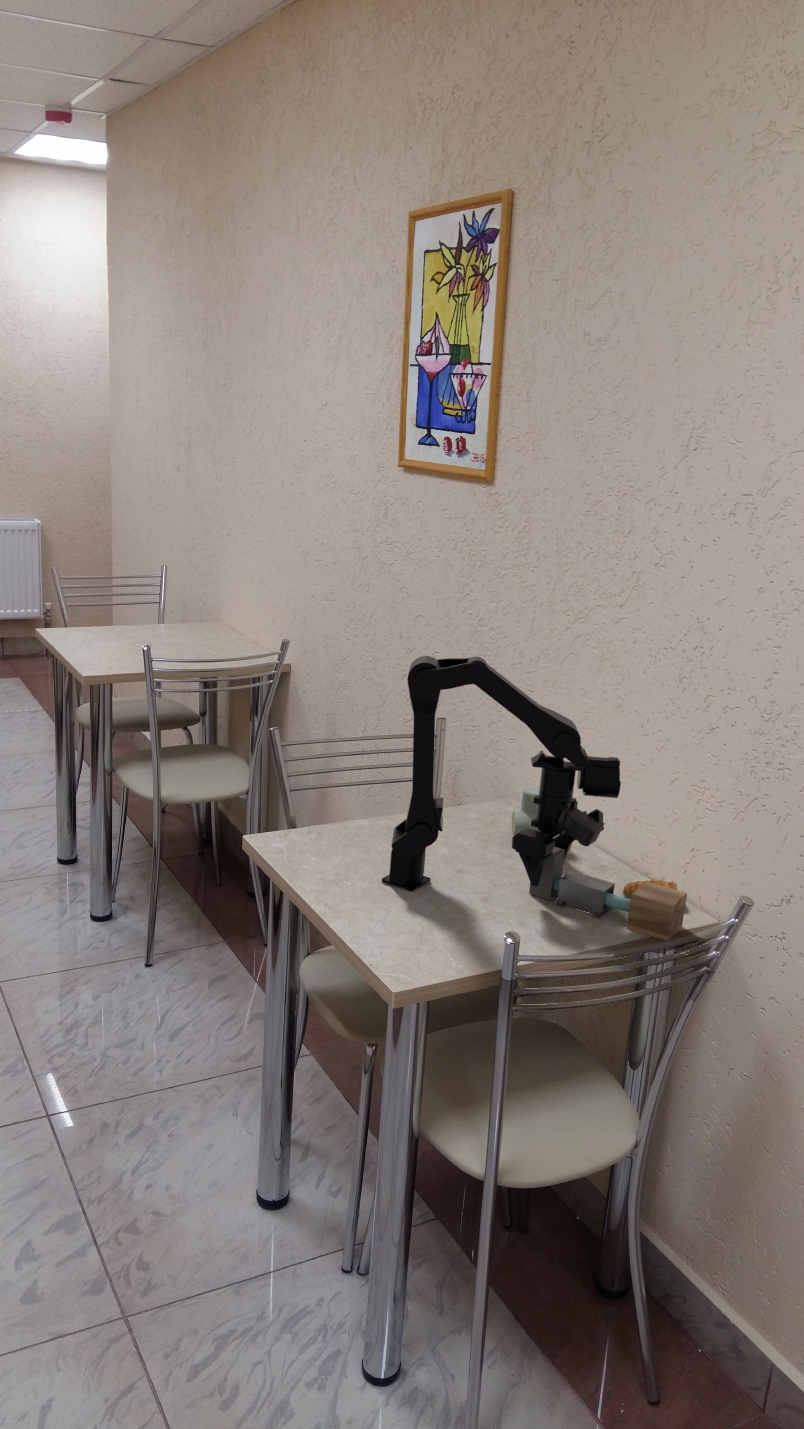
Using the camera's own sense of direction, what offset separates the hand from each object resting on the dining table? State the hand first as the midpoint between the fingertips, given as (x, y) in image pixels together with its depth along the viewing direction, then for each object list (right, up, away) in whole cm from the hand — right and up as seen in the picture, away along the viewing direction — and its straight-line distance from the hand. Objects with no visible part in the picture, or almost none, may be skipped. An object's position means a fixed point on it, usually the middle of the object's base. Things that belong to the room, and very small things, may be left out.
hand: (546, 877), depth 192 cm
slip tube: (+8, -5, -4) cm, 10 cm away
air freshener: (+1, +4, +28) cm, 28 cm away
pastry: (+19, -5, +2) cm, 20 cm away
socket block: (+17, -7, -9) cm, 20 cm away
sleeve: (+6, -4, -3) cm, 8 cm away
